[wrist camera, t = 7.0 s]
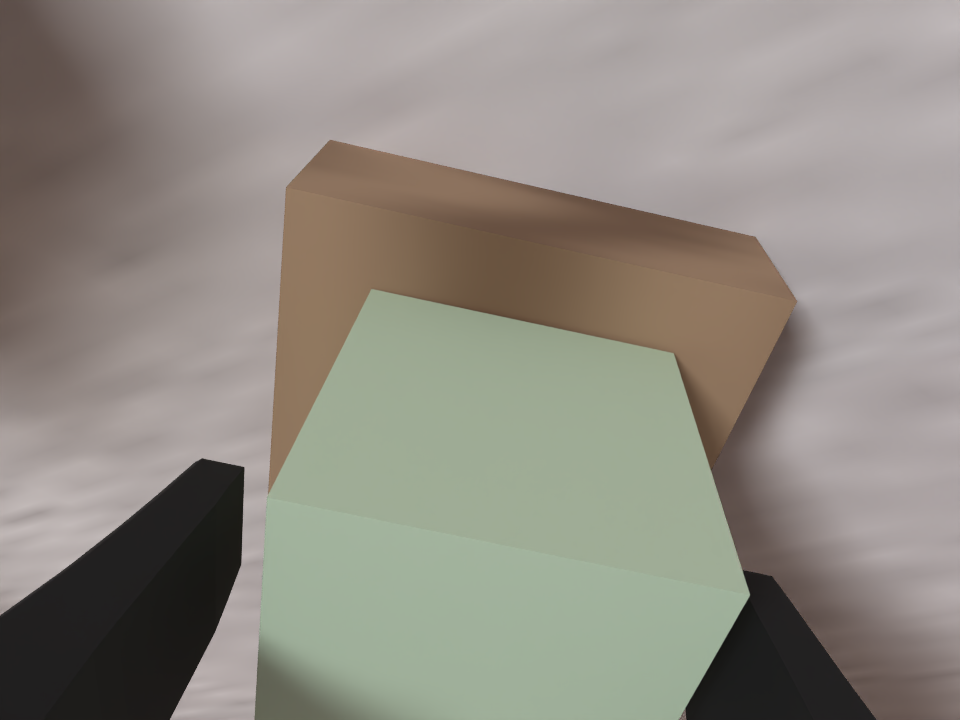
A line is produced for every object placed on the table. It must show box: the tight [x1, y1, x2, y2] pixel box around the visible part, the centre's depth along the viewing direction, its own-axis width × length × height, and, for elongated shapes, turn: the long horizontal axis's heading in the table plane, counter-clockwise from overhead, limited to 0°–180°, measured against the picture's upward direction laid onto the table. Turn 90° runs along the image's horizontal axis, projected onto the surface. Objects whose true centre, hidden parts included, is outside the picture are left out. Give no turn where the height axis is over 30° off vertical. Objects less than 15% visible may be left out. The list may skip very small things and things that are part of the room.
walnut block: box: [268, 140, 797, 494], centre depth 14 cm, size 8×8×3 cm
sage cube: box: [255, 289, 750, 720], centre depth 11 cm, size 5×5×5 cm
